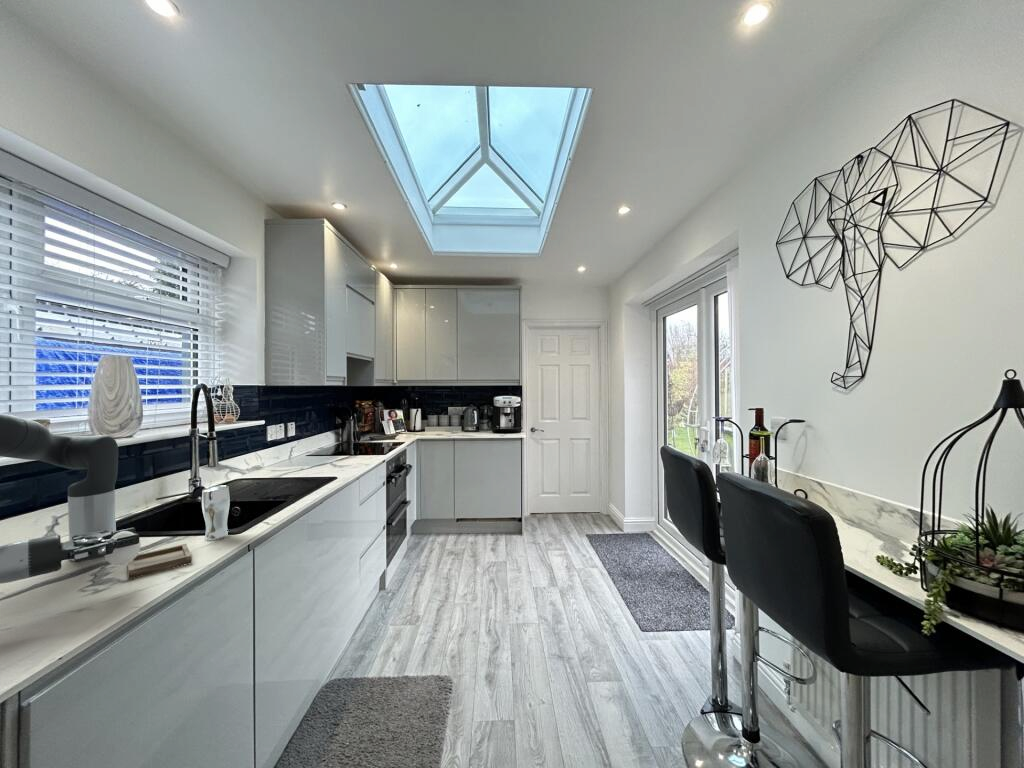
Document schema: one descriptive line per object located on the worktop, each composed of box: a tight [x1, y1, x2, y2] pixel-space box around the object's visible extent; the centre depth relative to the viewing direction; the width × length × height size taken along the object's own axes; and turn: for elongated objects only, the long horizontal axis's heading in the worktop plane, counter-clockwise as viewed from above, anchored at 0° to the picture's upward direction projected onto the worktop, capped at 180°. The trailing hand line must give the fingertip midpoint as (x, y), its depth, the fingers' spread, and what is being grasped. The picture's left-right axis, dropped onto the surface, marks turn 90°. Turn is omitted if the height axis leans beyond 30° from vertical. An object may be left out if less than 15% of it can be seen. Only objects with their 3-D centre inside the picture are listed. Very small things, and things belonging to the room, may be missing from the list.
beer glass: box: [201, 485, 231, 541], centre depth 126 cm, size 7×7×15 cm
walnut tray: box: [127, 543, 192, 580], centre depth 107 cm, size 12×12×2 cm
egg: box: [104, 531, 141, 566], centre depth 95 cm, size 6×6×8 cm
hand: (136, 535), depth 97 cm, fingers closed on egg, 5 cm apart
